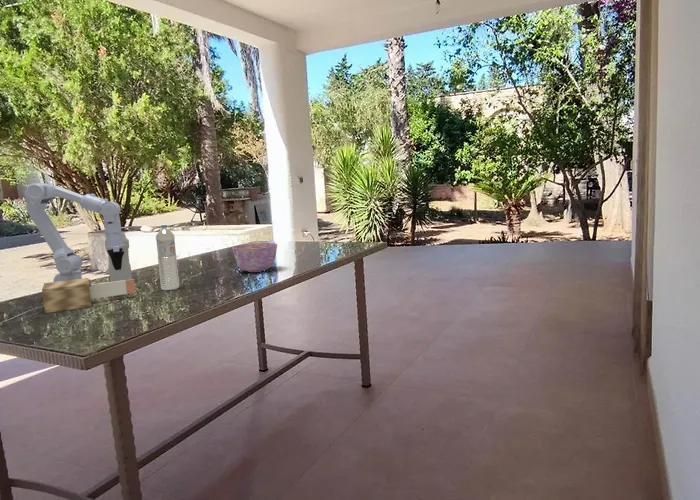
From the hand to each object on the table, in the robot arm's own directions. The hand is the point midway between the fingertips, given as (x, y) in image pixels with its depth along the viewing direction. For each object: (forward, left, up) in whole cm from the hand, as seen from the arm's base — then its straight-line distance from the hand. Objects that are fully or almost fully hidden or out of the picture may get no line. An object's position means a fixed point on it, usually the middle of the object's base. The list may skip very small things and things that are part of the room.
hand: (117, 268), depth 201 cm
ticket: (+4, -13, -8) cm, 16 cm away
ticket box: (-5, -21, -9) cm, 24 cm away
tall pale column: (-14, +20, -10) cm, 26 cm away
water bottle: (+18, +6, -10) cm, 21 cm away
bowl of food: (+39, +42, -10) cm, 58 cm away
